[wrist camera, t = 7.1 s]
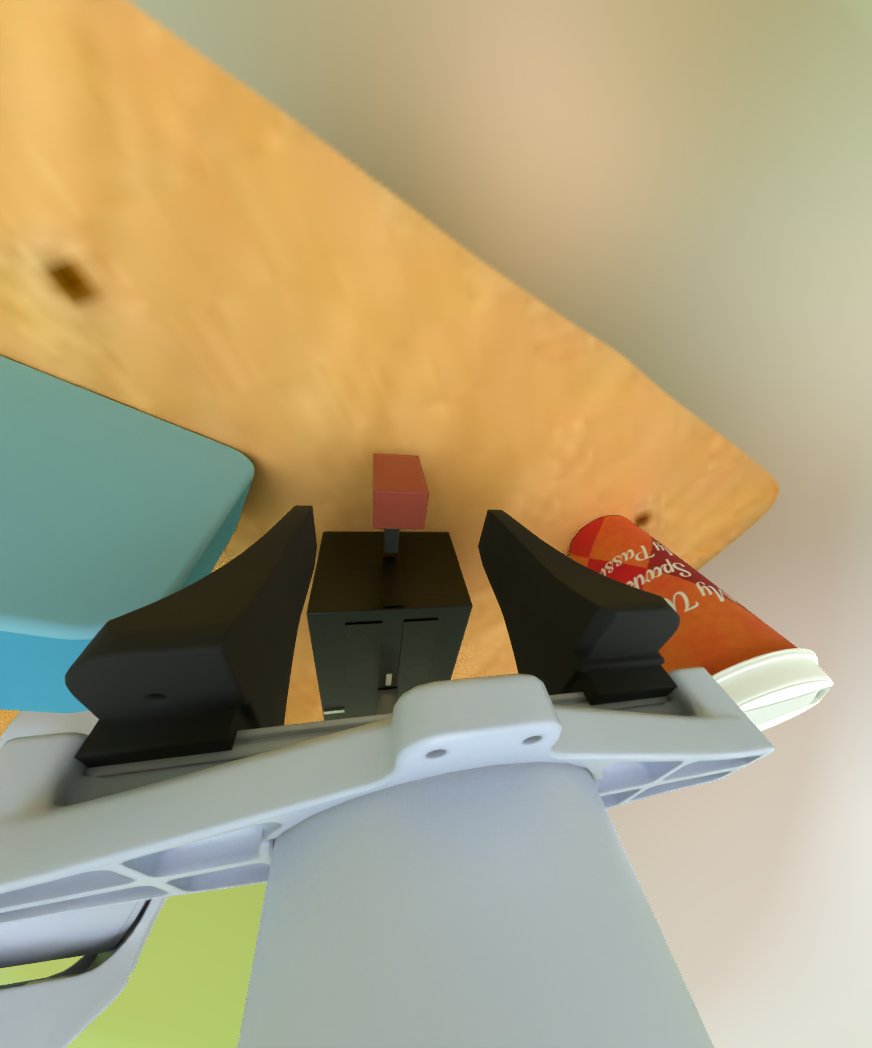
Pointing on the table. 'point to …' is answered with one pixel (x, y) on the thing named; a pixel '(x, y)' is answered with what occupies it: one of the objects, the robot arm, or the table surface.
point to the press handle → (398, 496)
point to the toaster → (382, 612)
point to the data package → (96, 523)
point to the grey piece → (386, 701)
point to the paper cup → (708, 625)
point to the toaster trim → (368, 636)
